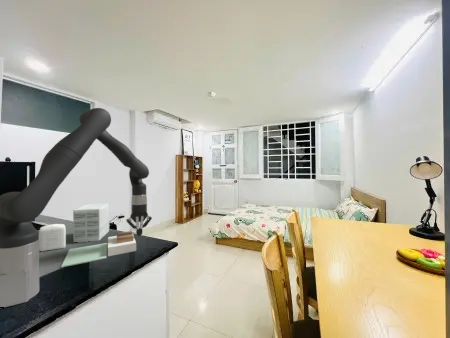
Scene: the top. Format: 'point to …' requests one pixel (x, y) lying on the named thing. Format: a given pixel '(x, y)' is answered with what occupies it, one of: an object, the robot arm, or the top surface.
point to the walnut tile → (124, 237)
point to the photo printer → (52, 237)
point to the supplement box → (90, 222)
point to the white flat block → (120, 246)
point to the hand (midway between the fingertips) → (139, 235)
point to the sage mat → (85, 254)
